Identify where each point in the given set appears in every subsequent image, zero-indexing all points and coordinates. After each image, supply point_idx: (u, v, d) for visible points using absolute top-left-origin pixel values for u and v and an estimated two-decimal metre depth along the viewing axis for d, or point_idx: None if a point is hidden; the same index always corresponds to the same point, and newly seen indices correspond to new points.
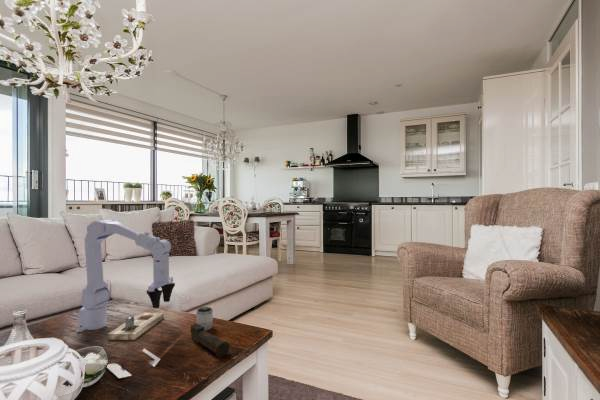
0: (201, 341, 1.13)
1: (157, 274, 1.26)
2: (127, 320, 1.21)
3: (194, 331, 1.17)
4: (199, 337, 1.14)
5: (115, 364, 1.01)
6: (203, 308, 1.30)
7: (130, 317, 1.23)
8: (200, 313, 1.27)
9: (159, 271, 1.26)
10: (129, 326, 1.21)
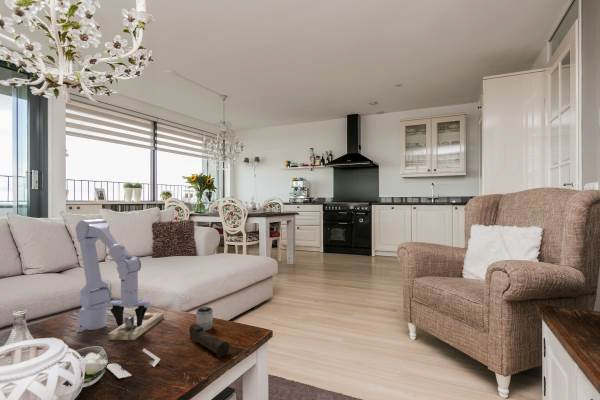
0: (200, 341, 1.13)
1: None
2: (127, 320, 1.21)
3: (193, 331, 1.17)
4: (198, 337, 1.14)
5: (115, 364, 1.01)
6: (203, 308, 1.30)
7: (130, 317, 1.23)
8: (200, 313, 1.27)
9: (124, 291, 1.20)
10: (129, 326, 1.21)
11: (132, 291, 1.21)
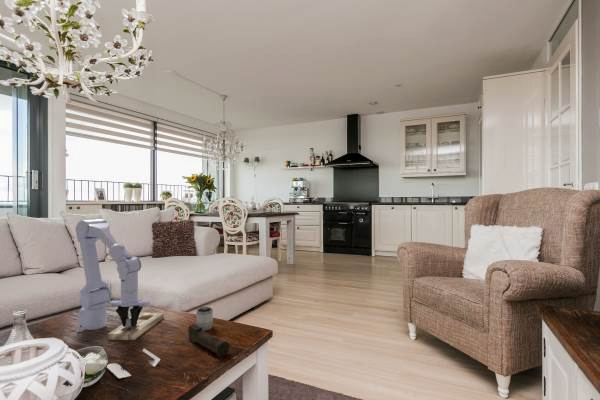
0: (200, 341, 1.13)
1: None
2: (127, 320, 1.21)
3: (192, 332, 1.17)
4: (197, 338, 1.14)
5: (115, 364, 1.01)
6: (203, 308, 1.30)
7: (130, 317, 1.23)
8: (200, 313, 1.27)
9: (124, 291, 1.20)
10: (129, 326, 1.21)
11: (132, 291, 1.21)
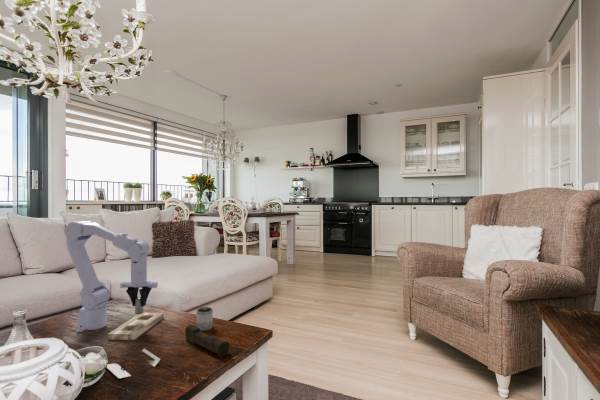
0: (198, 342, 1.12)
1: None
2: (137, 300, 1.28)
3: (190, 332, 1.16)
4: (195, 338, 1.13)
5: (115, 364, 1.01)
6: (203, 308, 1.30)
7: (139, 298, 1.29)
8: (200, 313, 1.27)
9: (136, 272, 1.27)
10: (138, 305, 1.28)
11: (141, 272, 1.27)
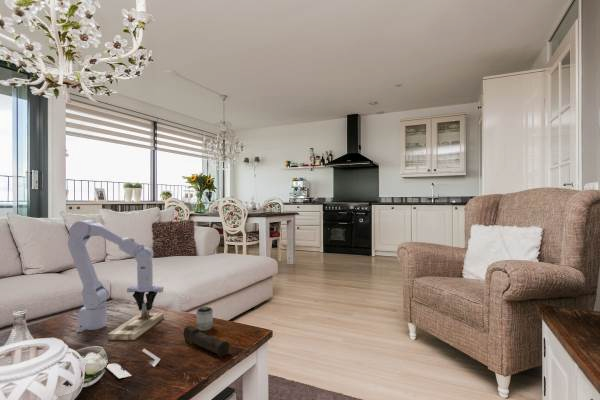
0: (198, 342, 1.12)
1: None
2: (143, 304, 1.32)
3: (189, 333, 1.16)
4: (195, 339, 1.13)
5: (115, 364, 1.01)
6: (203, 308, 1.30)
7: (145, 302, 1.34)
8: (200, 313, 1.27)
9: (144, 277, 1.31)
10: (144, 309, 1.32)
11: (148, 278, 1.32)
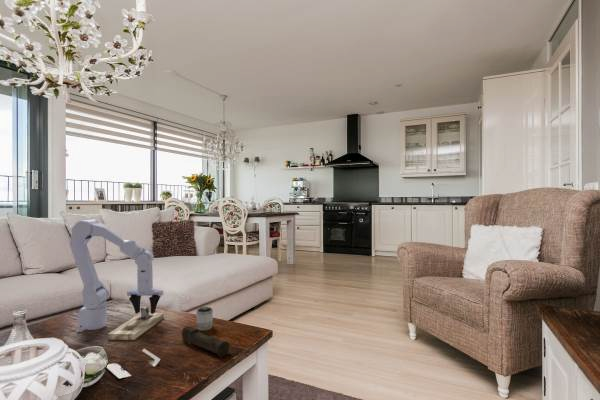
0: (197, 343, 1.12)
1: None
2: (143, 310, 1.32)
3: (187, 333, 1.15)
4: (194, 339, 1.13)
5: (115, 364, 1.01)
6: (203, 308, 1.30)
7: (145, 307, 1.34)
8: (200, 313, 1.27)
9: (145, 281, 1.31)
10: (144, 315, 1.32)
11: (148, 281, 1.32)
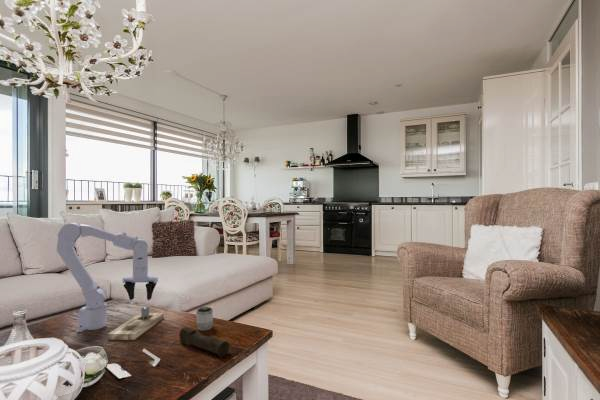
0: (196, 343, 1.11)
1: None
2: (143, 310, 1.32)
3: (186, 334, 1.14)
4: (192, 340, 1.12)
5: (115, 364, 1.01)
6: (203, 308, 1.30)
7: (145, 307, 1.34)
8: (200, 313, 1.27)
9: (142, 268, 1.36)
10: (144, 315, 1.32)
11: (143, 268, 1.36)
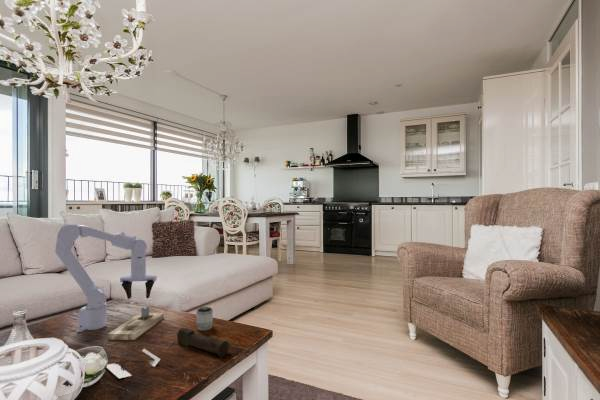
0: (195, 344, 1.11)
1: None
2: (143, 310, 1.32)
3: (184, 335, 1.14)
4: (191, 341, 1.12)
5: (115, 364, 1.01)
6: (203, 308, 1.30)
7: (146, 307, 1.34)
8: (200, 313, 1.27)
9: (141, 266, 1.38)
10: (144, 315, 1.32)
11: (142, 267, 1.38)
